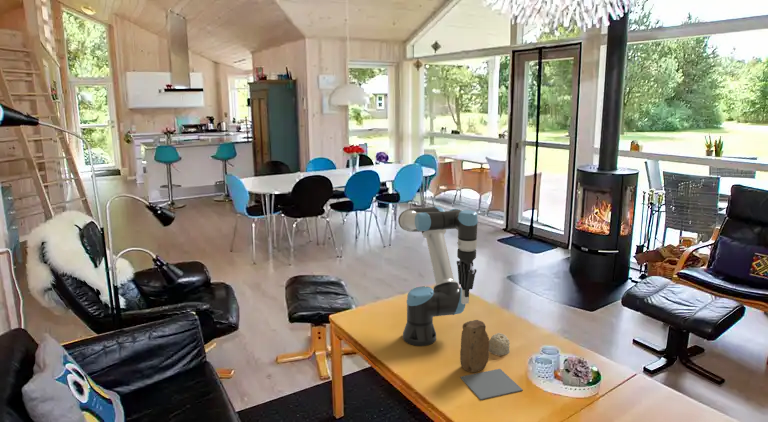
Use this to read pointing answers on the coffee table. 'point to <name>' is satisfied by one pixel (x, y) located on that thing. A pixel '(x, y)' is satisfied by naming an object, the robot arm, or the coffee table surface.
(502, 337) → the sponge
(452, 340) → the coffee table surface
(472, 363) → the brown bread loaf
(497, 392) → the mat
